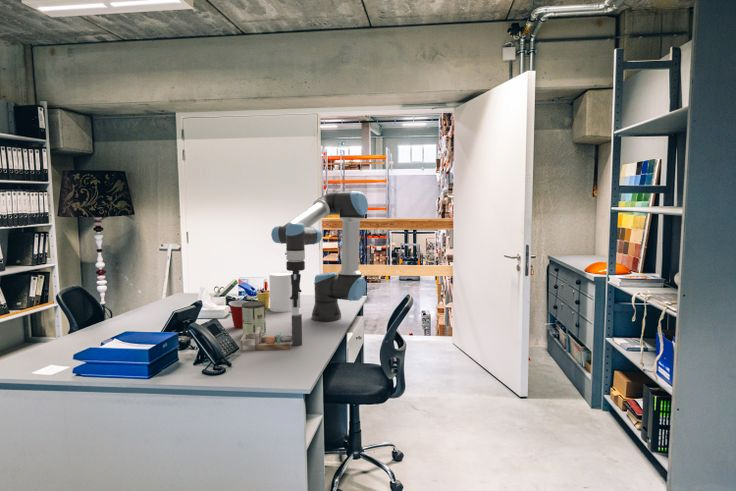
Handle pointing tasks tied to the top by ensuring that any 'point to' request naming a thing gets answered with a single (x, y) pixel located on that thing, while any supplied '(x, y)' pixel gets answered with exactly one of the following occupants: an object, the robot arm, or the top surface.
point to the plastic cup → (237, 313)
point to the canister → (280, 291)
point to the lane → (253, 339)
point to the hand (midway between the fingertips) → (296, 311)
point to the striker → (293, 331)
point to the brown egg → (270, 340)
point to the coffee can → (253, 317)
